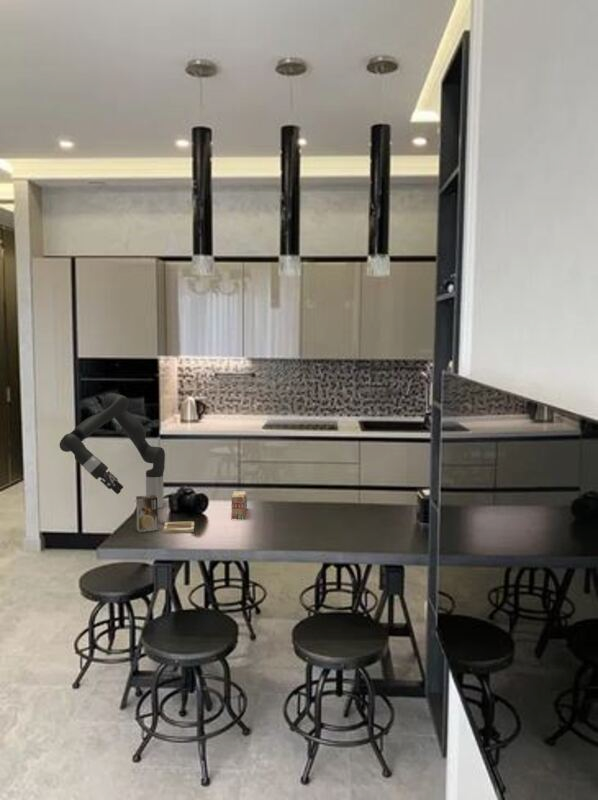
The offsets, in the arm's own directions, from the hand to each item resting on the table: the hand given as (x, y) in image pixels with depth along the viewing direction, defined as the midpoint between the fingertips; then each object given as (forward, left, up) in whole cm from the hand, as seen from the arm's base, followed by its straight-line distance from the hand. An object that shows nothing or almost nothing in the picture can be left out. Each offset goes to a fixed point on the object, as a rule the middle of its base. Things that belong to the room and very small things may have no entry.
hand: (120, 490), depth 290 cm
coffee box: (0, +12, -19) cm, 23 cm away
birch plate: (0, +27, -19) cm, 33 cm away
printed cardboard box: (-23, +57, -20) cm, 65 cm away
